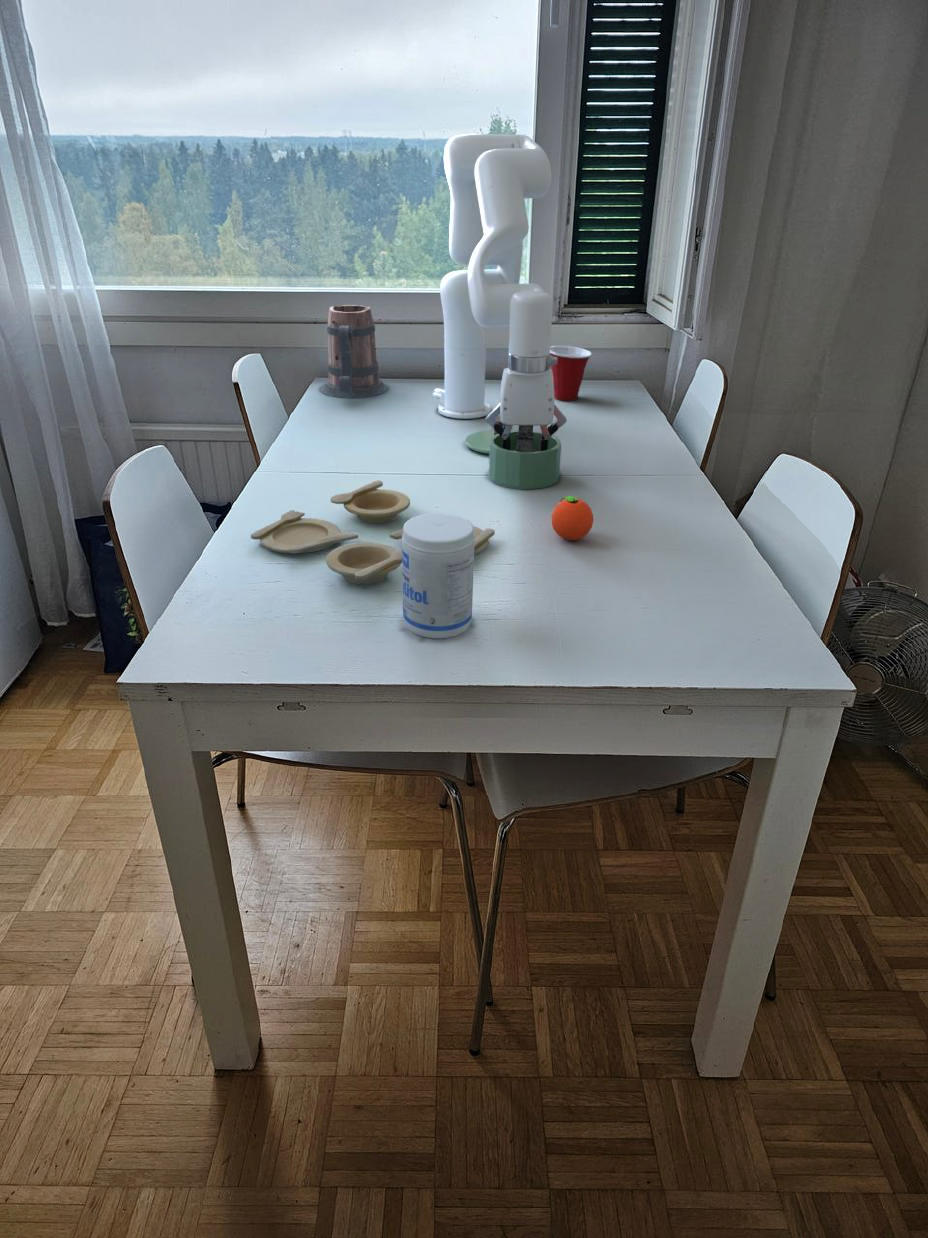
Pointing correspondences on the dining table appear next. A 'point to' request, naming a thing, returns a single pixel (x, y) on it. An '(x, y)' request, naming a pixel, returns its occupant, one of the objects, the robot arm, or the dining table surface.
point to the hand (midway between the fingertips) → (524, 456)
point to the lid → (481, 439)
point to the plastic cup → (568, 371)
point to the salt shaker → (525, 439)
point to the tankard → (352, 353)
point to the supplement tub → (437, 574)
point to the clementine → (572, 518)
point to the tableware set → (350, 535)
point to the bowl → (524, 463)
